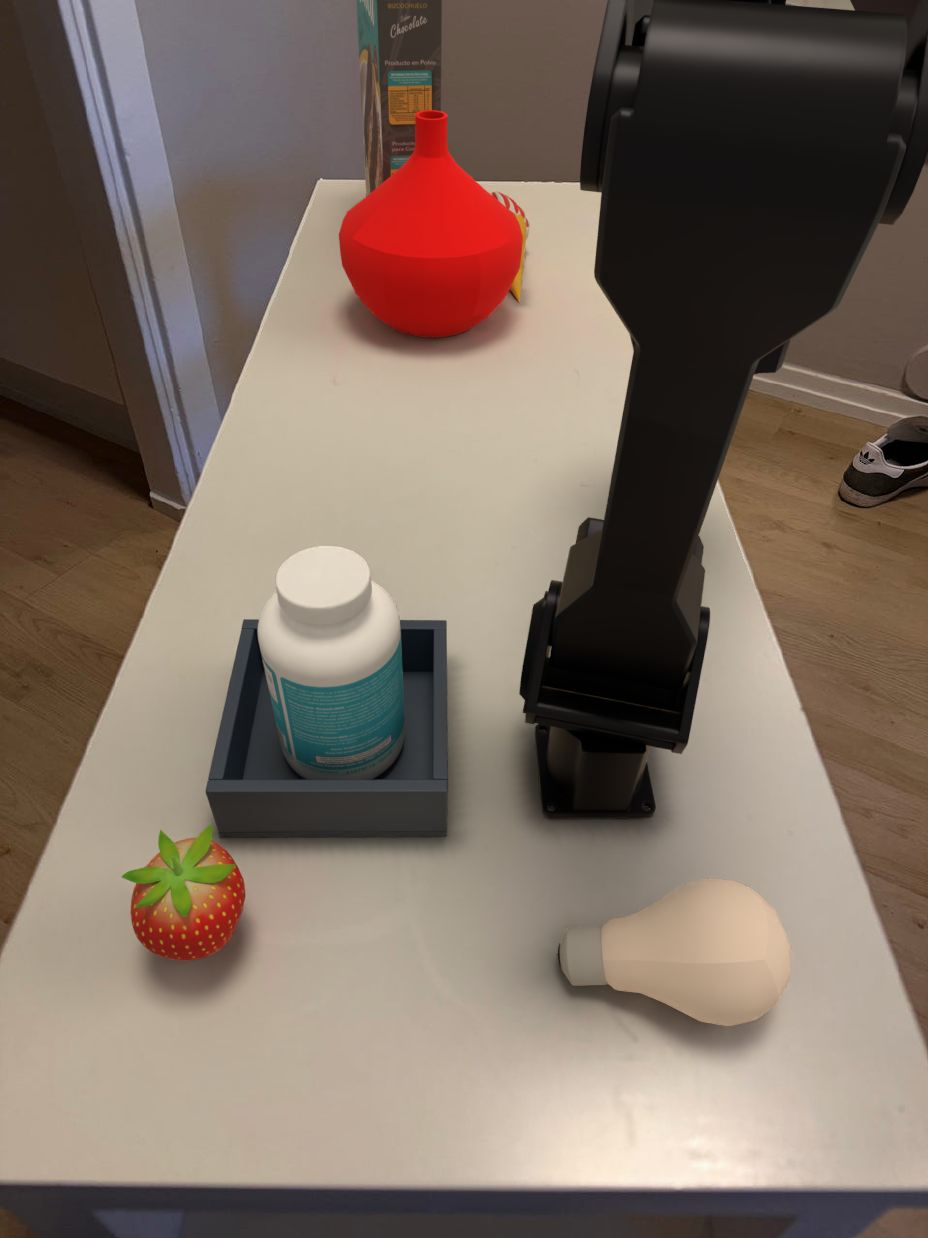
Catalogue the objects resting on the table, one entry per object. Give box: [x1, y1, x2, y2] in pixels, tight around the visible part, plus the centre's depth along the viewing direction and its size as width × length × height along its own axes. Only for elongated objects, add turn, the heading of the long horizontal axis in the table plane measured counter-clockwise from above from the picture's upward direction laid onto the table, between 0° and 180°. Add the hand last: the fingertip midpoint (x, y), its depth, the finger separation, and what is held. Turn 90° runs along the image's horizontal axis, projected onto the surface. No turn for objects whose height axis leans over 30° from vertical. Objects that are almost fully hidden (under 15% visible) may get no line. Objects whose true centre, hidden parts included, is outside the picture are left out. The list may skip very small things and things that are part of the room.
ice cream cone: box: [490, 191, 531, 303], centre depth 100 cm, size 6×6×20 cm
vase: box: [338, 110, 523, 338], centre depth 86 cm, size 18×18×19 cm
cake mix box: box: [355, 0, 443, 197], centre depth 95 cm, size 22×6×30 cm, turn 10°
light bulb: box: [556, 877, 792, 1027], centre depth 42 cm, size 7×7×11 cm
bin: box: [205, 618, 449, 838], centre depth 51 cm, size 13×13×4 cm
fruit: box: [120, 823, 246, 961], centre depth 41 cm, size 5×5×8 cm
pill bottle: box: [258, 545, 405, 780], centre depth 48 cm, size 8×7×14 cm
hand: (659, 398), depth 57 cm, fingers open, 9 cm apart
